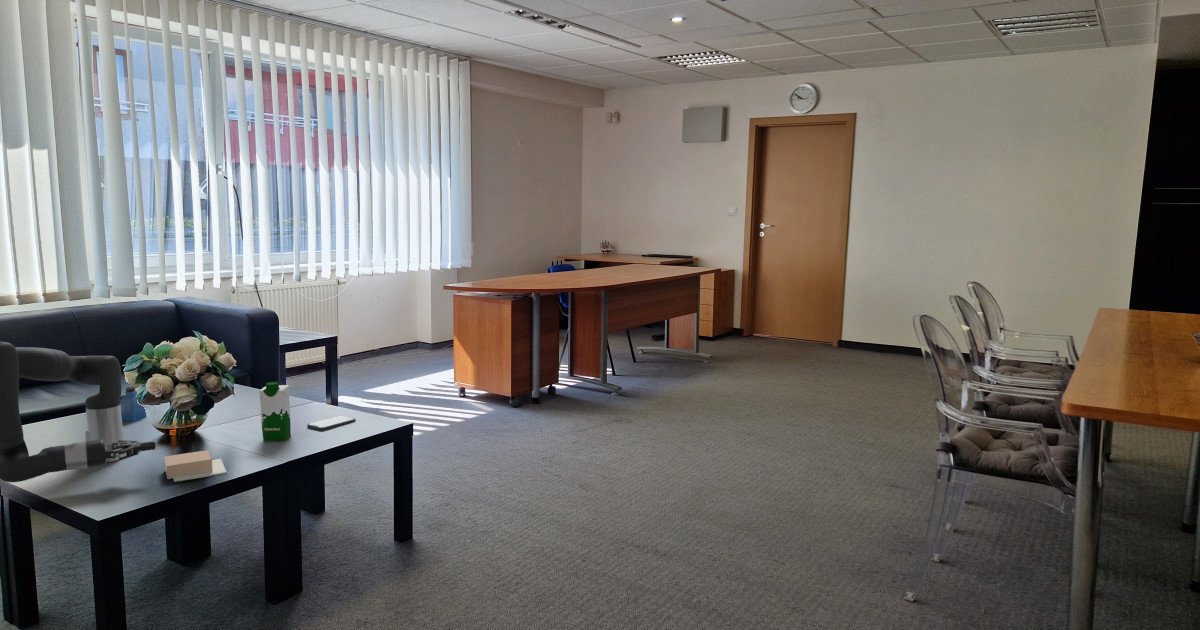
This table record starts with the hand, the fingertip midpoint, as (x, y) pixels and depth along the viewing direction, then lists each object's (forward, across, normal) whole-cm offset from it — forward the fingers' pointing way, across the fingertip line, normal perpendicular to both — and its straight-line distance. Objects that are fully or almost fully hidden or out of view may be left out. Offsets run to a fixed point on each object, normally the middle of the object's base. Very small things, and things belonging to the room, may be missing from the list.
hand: (155, 445), depth 231 cm
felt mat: (+11, 0, +10) cm, 15 cm away
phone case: (+58, +29, +10) cm, 66 cm away
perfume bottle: (-3, +75, +10) cm, 76 cm away
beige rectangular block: (+2, 0, +7) cm, 8 cm away
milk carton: (+38, +22, +10) cm, 45 cm away
